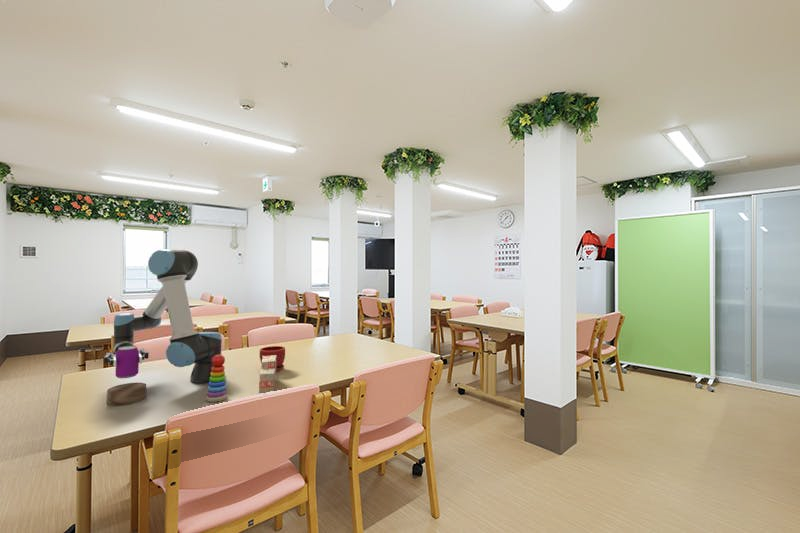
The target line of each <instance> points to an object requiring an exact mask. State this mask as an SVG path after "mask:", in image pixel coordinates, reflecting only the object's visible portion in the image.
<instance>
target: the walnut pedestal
mask: <svg viewBox="0 0 800 533" xmlns="http://www.w3.org/2000/svg"><path fill="white" fill-rule="evenodd" d="M146 398H147V384H146V383H145V382H128V383H122V384H117V385H114V386H111V387H110V388H108V389H107V390H106V404H107V405H108V406H113V407H115V406H116V407H119V406H127V405H132V404H135V403H138V402H142V401H143V400H145V399H146Z"/></svg>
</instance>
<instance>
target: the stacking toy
mask: <svg viewBox="0 0 800 533" xmlns="http://www.w3.org/2000/svg"><path fill="white" fill-rule="evenodd" d="M225 362H226V358H225V356H224V355H222V354H221V355H215V356H214V357H213V358H212V364H213V365H214V366H213V367H212V368H211V370H212V372H211V373H210V375H211V377H210V382H209V383H208V387H207V391H206V396H205V400H206V401H207V402H210V403H217V401H218V402H222V401H224V400H225V399H226V398H228V393H227V384H226V382H227V381H226V372H224V371H225V368H226V367H225V365H224V364H225ZM223 370H224V371H223ZM224 374H225V375H224Z"/></svg>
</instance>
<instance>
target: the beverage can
mask: <svg viewBox="0 0 800 533" xmlns="http://www.w3.org/2000/svg"><path fill="white" fill-rule="evenodd" d="M139 351H140V350H139V349H138V346H136V345H134V346H124V347H120V348H118V350H117V353H116V367H115V372H114V373H115V377H116V378H118V379H130V378H133V377H136V376H137V375H138V374H139V366H140V365H139V364H140V363H139Z"/></svg>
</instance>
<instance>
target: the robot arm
mask: <svg viewBox="0 0 800 533" xmlns="http://www.w3.org/2000/svg"><path fill="white" fill-rule="evenodd" d="M147 266H148V269H149V272H150V273H151V274H153V275H155V276H156V279H157V281H158V282H159V283H161V284H162V287H161V288H160V289H159V290H158V292H157V293H156V295H155V296H154V297H153V299H152V300H151V302H150V303H148V306H147V307H146V309H145V310H144V311H143V313H142V314H139V315H135V314H134V313H133V312H132V313H131V312H122V313H117V314H115V315H114V319H113V343H112V349H113V353H112V352H109V351H108V352H107V351H106V352H105V355H104V357H103V364H106V365H107V364H108V363H109V366H113V368H116V353H117V350H118V348H120V347H124V346H135V344H134V338H135V337H134V336H135V332H139V331H144V330H150V329H154V328H158V327H159V326H160V325H161V323H162V316H163V314H164V313H165V311H166V310H167V314H168V317H169V322H170V328H171V333H172V334H171V335H172V336H171V337H170V339H169V342H170V344H169V345H168V346H167V349H166V351H165V356H166V359H167V360H168V362H169V363H170V364H171V365H173V366H174V367H176V368H177V367H178V368H185V367H189V366H191V365H193V364H194V366H193V367H192V371H191V373H190V377H189V378H190V382H191V383H194V384H209V382H210V377H211V375H210V373H211V372H212V370H211V368H212V367H213V366H214V365H213V364H212V358H213V357H214V356H215V355H222V341H223V339H222V334H221V333H220V332H217V331H199V332H198V331H197V330H195V327H194V323H193V318H192V313H191V309H190V308H191V307H190V304H189V299H188V293H187V289H186V283H187V282H189V281H191V280H192V278H193V277H194V276H195V275H196V273H197V270H198V267H199V262H198V258H197V257H196V255H195V254H194V253H192V252H191V251H189V250H185V249H183V250H182V249H181V250H180V249H169V248H166V249H158V250H155V251H154V252H153V253H152V254H151V256H149V258H148V262H147ZM138 351H139V364H140V365H141V364H142V363H143V361H145V359H146V360H147V359H149V351H147V350H145V348H141V349H139V350H138ZM223 371H224V372H225V369H224V370H223ZM224 375H225V376H226V372H225V374H224Z"/></svg>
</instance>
